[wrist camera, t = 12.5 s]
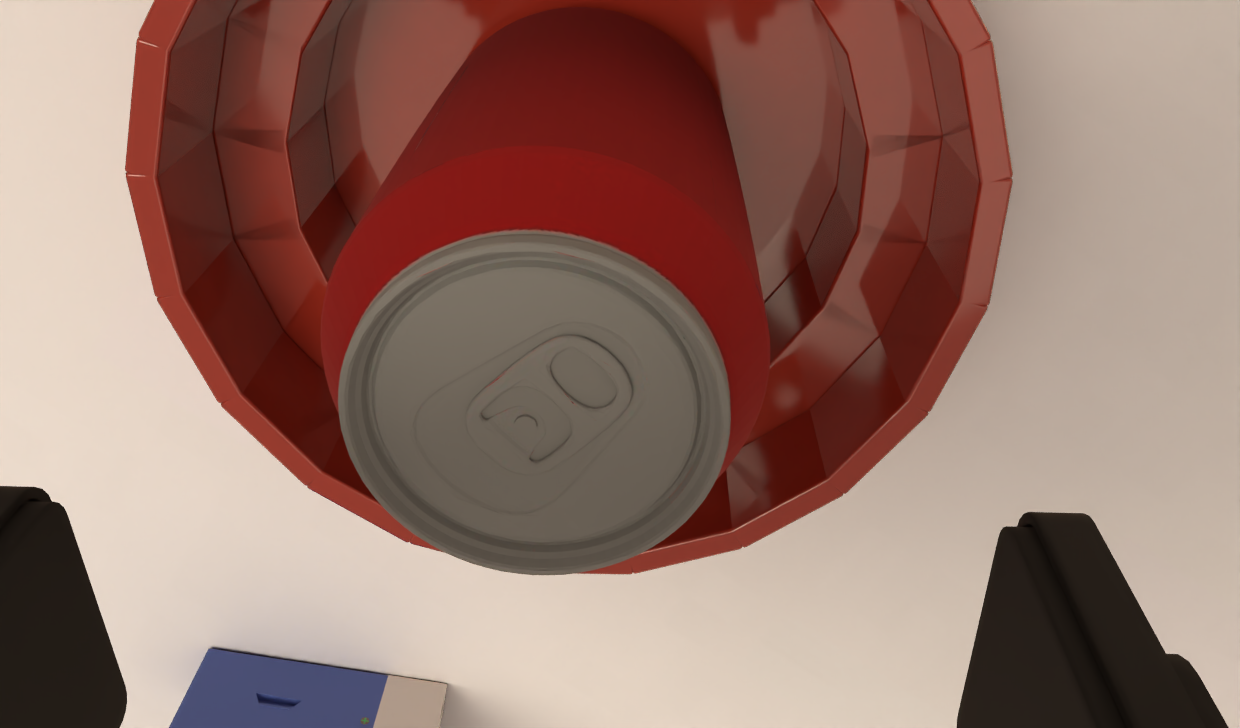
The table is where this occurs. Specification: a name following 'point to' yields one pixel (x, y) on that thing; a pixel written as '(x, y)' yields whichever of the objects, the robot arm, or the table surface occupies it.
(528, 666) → the table surface
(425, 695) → the walkman
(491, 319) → the beverage can
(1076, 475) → the table surface
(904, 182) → the bowl
